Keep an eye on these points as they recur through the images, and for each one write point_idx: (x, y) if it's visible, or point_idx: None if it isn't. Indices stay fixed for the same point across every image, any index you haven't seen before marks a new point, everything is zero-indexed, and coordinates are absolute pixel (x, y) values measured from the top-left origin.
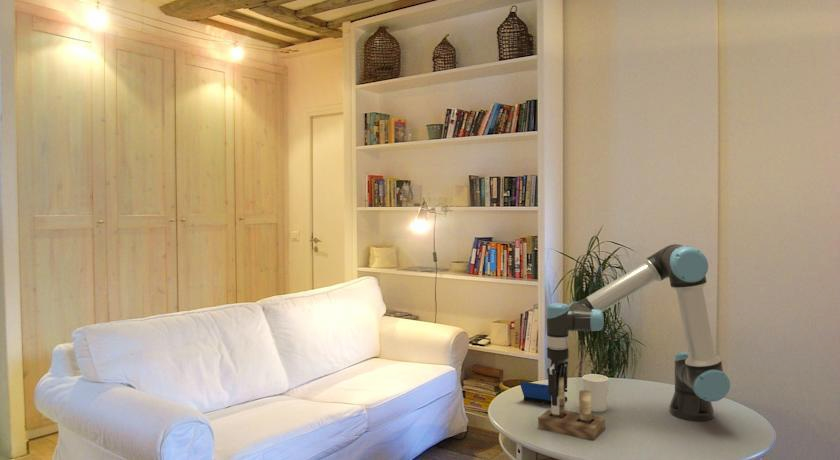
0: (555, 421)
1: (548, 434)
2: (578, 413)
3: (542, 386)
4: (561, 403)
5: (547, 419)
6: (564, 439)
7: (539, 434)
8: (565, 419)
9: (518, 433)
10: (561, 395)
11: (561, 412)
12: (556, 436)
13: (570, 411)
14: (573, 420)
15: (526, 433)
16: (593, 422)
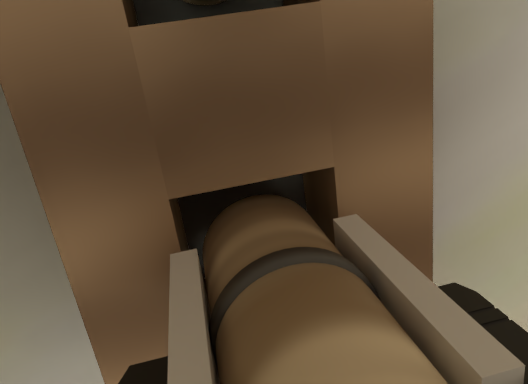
0: (427, 177)
1: (445, 166)
2: (43, 115)
3: None
4: (345, 279)
5: (429, 255)
6: (474, 12)
7: (476, 212)
8: (339, 124)
9: (523, 310)
10: (423, 377)
11: (303, 221)
12: (450, 98)
13: (61, 227)
14: (314, 33)
15: (500, 279)
16: None
